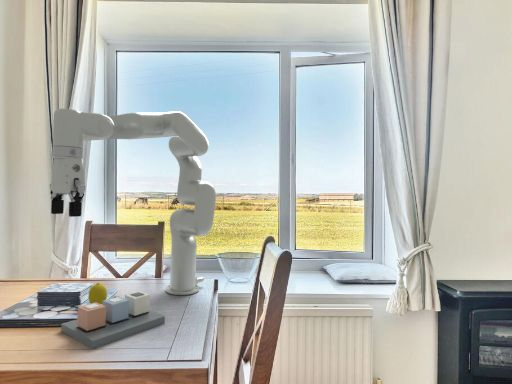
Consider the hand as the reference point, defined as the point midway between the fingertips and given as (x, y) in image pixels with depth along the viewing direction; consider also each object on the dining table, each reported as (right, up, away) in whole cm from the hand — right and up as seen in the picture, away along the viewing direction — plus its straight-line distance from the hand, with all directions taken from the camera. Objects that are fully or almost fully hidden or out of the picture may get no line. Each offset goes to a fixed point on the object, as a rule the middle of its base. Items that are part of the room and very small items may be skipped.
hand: (65, 215), depth 99 cm
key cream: (+18, -29, +6) cm, 35 cm away
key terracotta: (+10, -29, -5) cm, 31 cm away
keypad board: (+14, -32, +1) cm, 34 cm away
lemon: (+2, -31, +15) cm, 35 cm away
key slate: (+14, -29, +1) cm, 32 cm away
